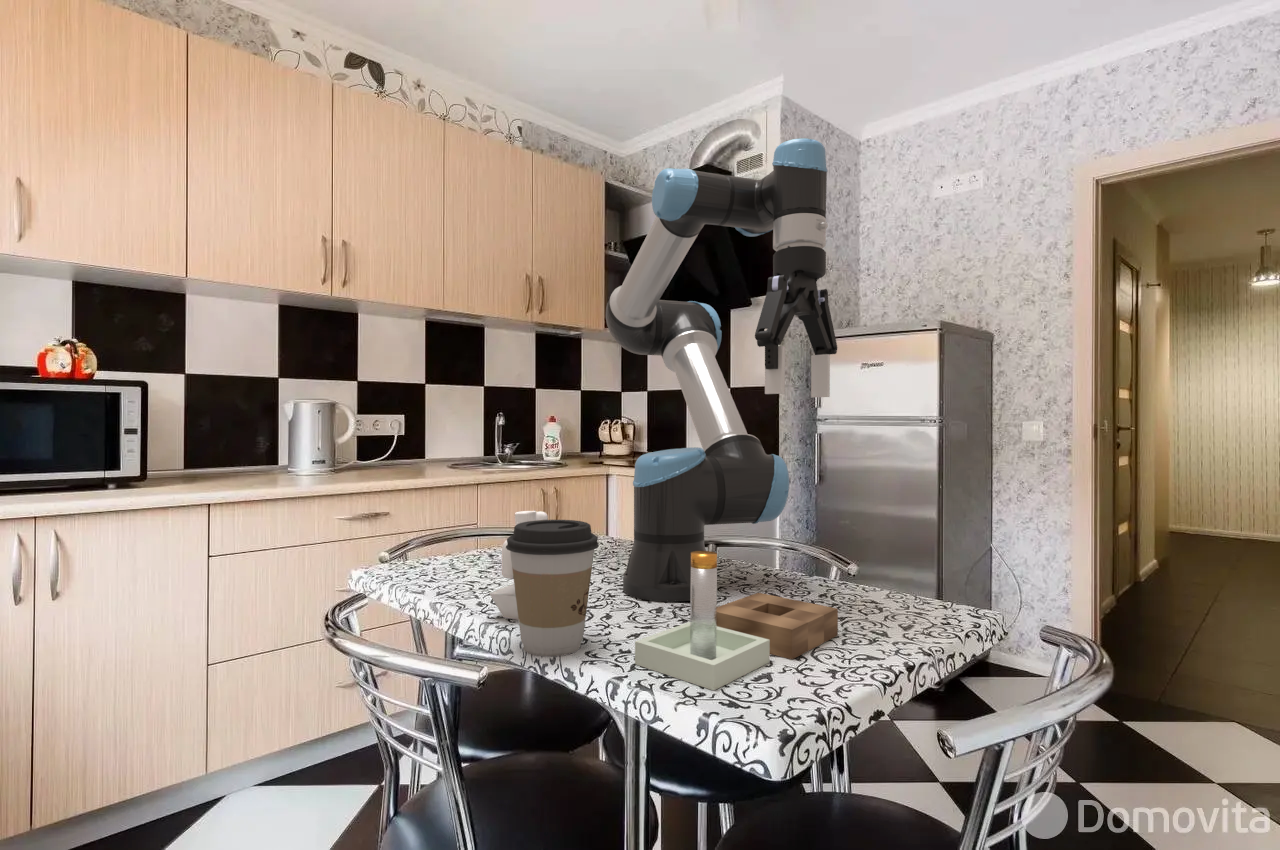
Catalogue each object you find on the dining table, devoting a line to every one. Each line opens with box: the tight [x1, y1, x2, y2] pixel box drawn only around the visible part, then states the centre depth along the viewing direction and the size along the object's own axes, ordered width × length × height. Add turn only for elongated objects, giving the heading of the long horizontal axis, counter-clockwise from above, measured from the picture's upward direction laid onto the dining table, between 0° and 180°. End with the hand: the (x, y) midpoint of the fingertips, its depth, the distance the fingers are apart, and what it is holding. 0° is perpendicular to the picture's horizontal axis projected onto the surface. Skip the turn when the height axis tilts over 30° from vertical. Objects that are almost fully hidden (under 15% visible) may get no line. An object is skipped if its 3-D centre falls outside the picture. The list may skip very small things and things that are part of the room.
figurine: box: [489, 510, 549, 621], centre depth 94 cm, size 7×9×15 cm
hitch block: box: [717, 592, 839, 661], centre depth 85 cm, size 12×12×4 cm
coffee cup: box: [506, 519, 599, 658], centre depth 81 cm, size 11×11×15 cm
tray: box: [634, 621, 771, 691], centre depth 75 cm, size 11×11×3 cm
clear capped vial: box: [689, 550, 718, 660], centre depth 75 cm, size 3×3×12 cm
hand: (798, 395), depth 96 cm, fingers open, 13 cm apart
